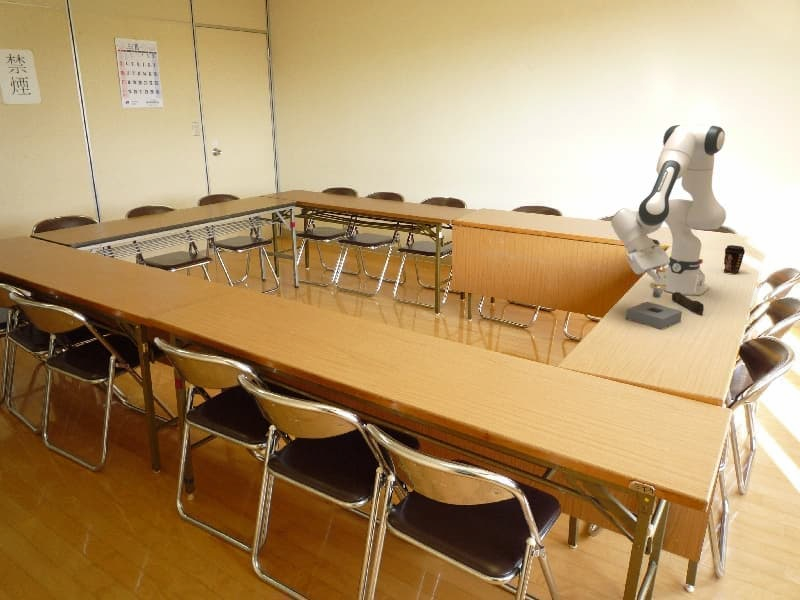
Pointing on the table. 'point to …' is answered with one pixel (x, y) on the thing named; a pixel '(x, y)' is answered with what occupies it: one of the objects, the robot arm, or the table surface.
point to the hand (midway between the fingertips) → (661, 279)
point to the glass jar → (659, 283)
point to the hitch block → (654, 315)
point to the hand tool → (688, 303)
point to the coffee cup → (733, 258)
